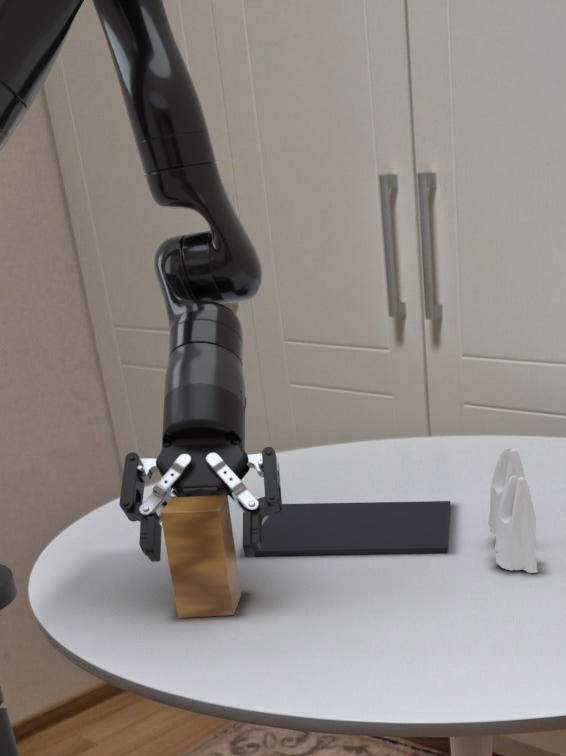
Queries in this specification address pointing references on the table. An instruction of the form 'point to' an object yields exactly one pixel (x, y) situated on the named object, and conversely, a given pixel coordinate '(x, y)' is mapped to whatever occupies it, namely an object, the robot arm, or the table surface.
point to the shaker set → (512, 515)
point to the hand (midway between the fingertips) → (201, 555)
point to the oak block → (201, 555)
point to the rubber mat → (357, 528)
